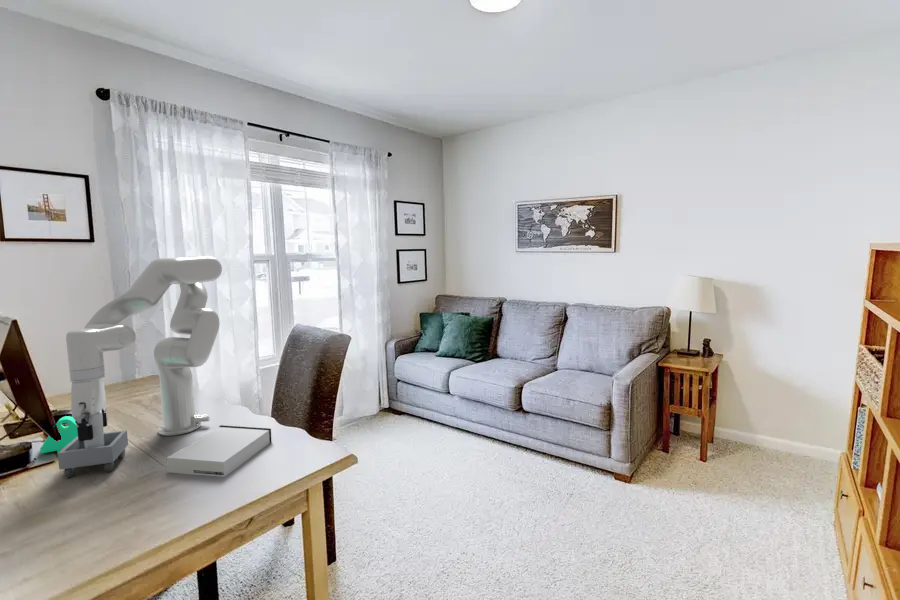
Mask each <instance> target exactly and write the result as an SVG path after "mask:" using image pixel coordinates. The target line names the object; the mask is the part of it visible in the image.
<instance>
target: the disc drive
mask: <svg viewBox="0 0 900 600" xmlns="http://www.w3.org/2000/svg"><path fill="white" fill-rule="evenodd" d="M271 443H272V428H268V427H266V428H265V427H252V426H251V427H250V426H237V425H235V426H234V425H222V424H221V425H219V426H218V427H217V428H215V429H213V430H212V431H210V432H209V433H206V434H205V435H204V436H202V437H200V438H199V439H196V440H194V441H192V442H191V443H189V444H188V445H186V446H184V447H182V448H181V449H178V450H177V451H175V452H174V453H173V454H170V455H169V456H167V457H166V463H167V473H170V474H172V473H173V474H184V475H194V476H195V475H197V476H199V475H200V476H207V477H221V478H225V477H226V476H228V475H229V474H230V473H232V472H233V471H234V470H236V469H237V468H238V467H240V466H241V465H243V464H244V463H245V462H247V461H248V460H250V458H252V457H253V456H255V455H256V454H257V453H258V452H260V451H261V450H262V449H264V448H265V447H266V446H267V445H269V444H271Z"/></svg>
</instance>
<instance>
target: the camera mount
mask: <svg viewBox="0 0 900 600" xmlns="http://www.w3.org/2000/svg"><path fill="white" fill-rule="evenodd" d="M75 421H76V420H75V418H73V417H72V415H68V416H67V415H65V416H62V417H61V418H59V419H58V421H57V422H56V424H55V425H57V428H58V430H59V433H60V435H61V440H60V441H56V440H54V439H53V438H51V437H50V436H49V435H48V436H47V437H46V439H45V440H44V442H43V444H42V445H41V447H40V450H39V451H40V454H45V453H46V454H47V453H51V452H57V454H58V453H59V452H60V451H61V450H62V448H64V447H66V446H67V445H68V444H69V443H70V442H71V441H73V440H74V439H75V438H76V437H77V436H78V432H77V427H76V423H75ZM63 424H68V425H67V426H64V425H63Z"/></svg>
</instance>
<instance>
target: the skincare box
mask: <svg viewBox="0 0 900 600" xmlns="http://www.w3.org/2000/svg"><path fill="white" fill-rule="evenodd" d="M83 415H85V414H83ZM85 420H86V421H87V418H85ZM90 425H92V427H93V439H92V440H85V441H84V445H85V448H93V447H101V446H104V433H105V432H104V427H103V415H102V410H100V411H99V412H98V413H97V414H95V415H94V416H92V419H91V424H90Z"/></svg>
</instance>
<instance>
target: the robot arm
mask: <svg viewBox="0 0 900 600" xmlns="http://www.w3.org/2000/svg"><path fill="white" fill-rule="evenodd" d="M222 267H223V266H222V264H221V262H220V261H219V260H218V259H217V258H216V257H213V256H182V257H160V258H159V257H158V258H155V259H154V260H152V261H151V262H149V264H148V265H147V266H146V268H145V269H144V270H143V271H142V273H140V275H139V276H138V277H137V279H136V280H135V281H134V282H133V284H132V285H131V286H130V287H129V288H128V289H127V291H125V292H124V293H122V294H121V295H120V294H119V296H117V297H115V298H114V299H113V300H111V301H110V302H108V303H107V304H105V305H104V306H102V307H101V308H100V309H98V310H97V312H96V313H94V315H93V316H91V318H90V319H89V321H88V322H87V323H86V324H85V326H84V327H83V328H80V329H79V328H78V329H73V330H71V331H68V332H67V333H66V335H65V341H66V350H67V361H68V369H69V379H70V381H69V382H71V390H70V391H71V392H70V402H71V405H70V406H71V417H73V418H74V419H75V423H76V427H77V432H78V440H79V441H85V440H92V439H93V427H92V425H90V424H91V419H92V416H94V415H95V414H97V413H98V412H99V411H100V410H102V415H103V428H105V427H107V426H108V418H107V417H108V416H107V408H106V406H107V396H106V388H105V383H104V378H105V377H106V371H105V360H104V353H106V352H118V351H119V352H120V351H123V350H126V349H128V348H130V347H132V346H133V344H134V343H135V342H136V338H137V337H136V332H135V330H134V329H133V328H131V326H129V325H127V324H126V325H125V324H121V323H122V322H123V321H125V320H127V319H129V318H130V317H133V316H134V315H138V314H141V313H144V312H147V311H149V310H151V309H154V307H156V305H158V303H159V301H160V300H161V299H162V298H163V296H164V294H166V292H167V291H168V289H169V288H170V287H171V286H172V285H179V287H180V293H179V298H178V300H177V304H176V305H175V308H174V311H173V313H172V315H171V319H170V324H169V327H170V330H171V331H172V332H173V333H175V334H177V335H182V336H183V335H184V336H189V337H176V336H172V337H171V336H170V337H165V338H163V339H160V340H159V341H158V342H157V343H156V344H155V346H154V350H153V357H154V361H155V364H156V366H157V371H158V378H159V387H160V388H159V391H160V399H161V401H160V403H161V413H162V425H160V426H159V427H158V429H157V430H158V431H157V432H158V434H159V435H161V436H170V437H171V436H179V435H185V434H187V433H191V432H193V431H195V430H198V429H199V428H200V427H201V425H202V422H203V423H204V422H210V420H211V418H210V415H208V414H206V413H205V414H201V415H200V414H198V410H197V411H196V406H195V405H196V403H195V394H194V393H195V391H194V377H193V373H192V370H191V369H190V368H199V367H201V366H203V365H205V364H206V363H207V362H208V359H209V358H210V355H211V353H212V350H213V347H214V344H215V341H216V339H217V335H218V333H219V330H220V323H221V322H220V317H219V314H217V312H216V311H215V310H213V308H206V305H207V302H208V296H209V295H208V292H207V288H206V286H205V283H209V282H213V281H216V280H217V279H219V277H220V276H221V275H222V271H223V268H222ZM83 414H85V415H83ZM85 418H87V421H86V420H85Z"/></svg>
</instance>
